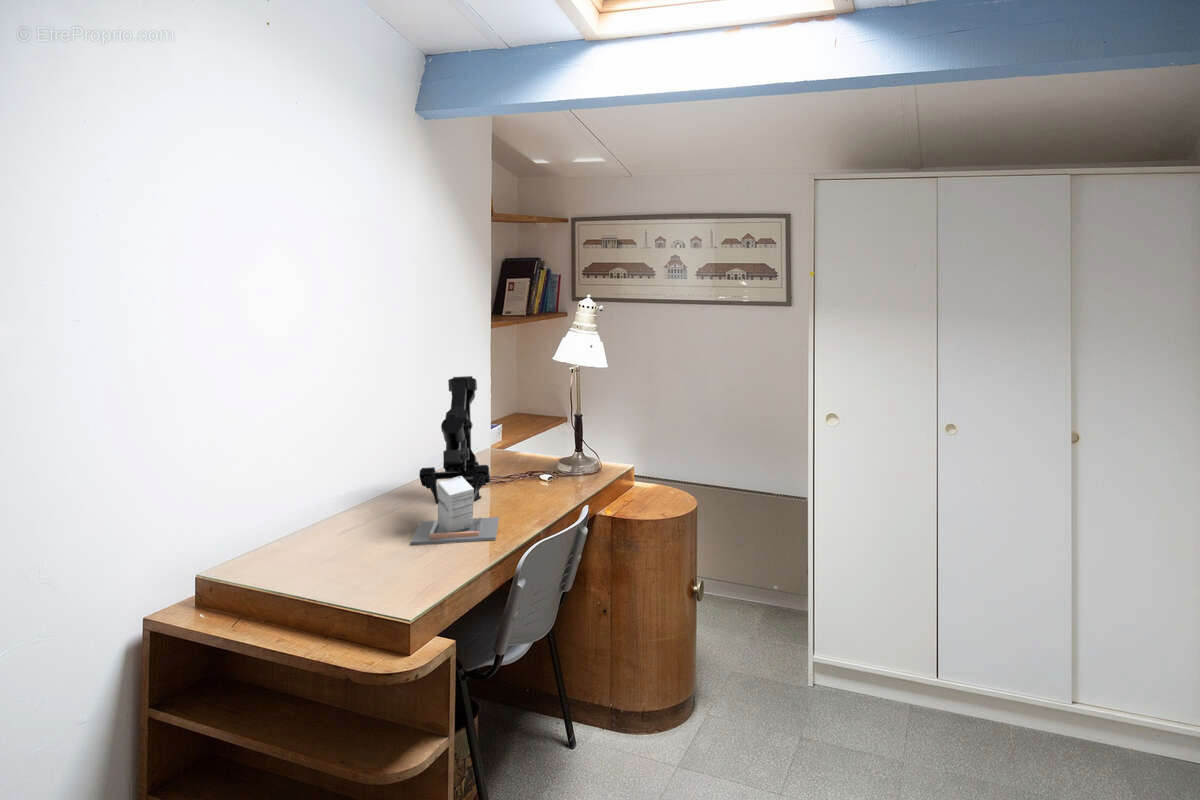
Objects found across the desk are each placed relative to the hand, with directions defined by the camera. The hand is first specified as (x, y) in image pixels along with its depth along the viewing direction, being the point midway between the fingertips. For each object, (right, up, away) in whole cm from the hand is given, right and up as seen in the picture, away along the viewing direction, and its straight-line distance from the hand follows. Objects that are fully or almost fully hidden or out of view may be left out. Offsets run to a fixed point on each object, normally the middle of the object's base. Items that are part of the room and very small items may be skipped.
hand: (454, 502), depth 213 cm
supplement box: (0, -6, +3) cm, 7 cm away
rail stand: (0, -8, +3) cm, 9 cm away
